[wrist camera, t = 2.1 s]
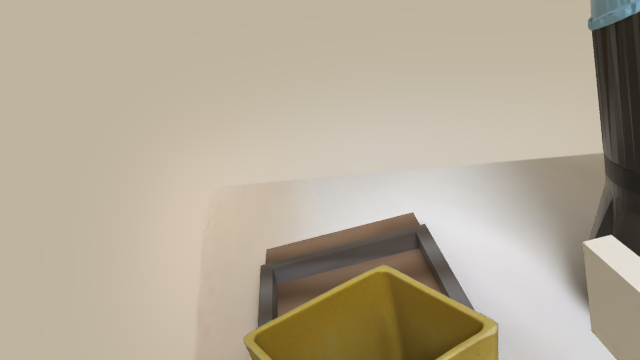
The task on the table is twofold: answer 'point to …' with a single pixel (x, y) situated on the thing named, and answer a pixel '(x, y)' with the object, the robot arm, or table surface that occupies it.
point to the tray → (352, 263)
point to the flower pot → (377, 325)
